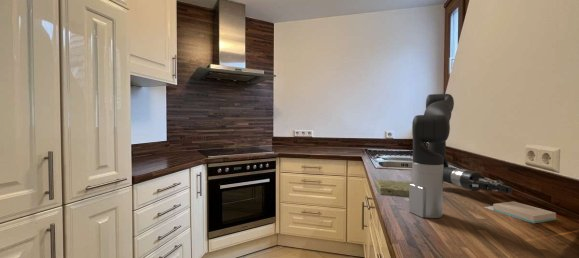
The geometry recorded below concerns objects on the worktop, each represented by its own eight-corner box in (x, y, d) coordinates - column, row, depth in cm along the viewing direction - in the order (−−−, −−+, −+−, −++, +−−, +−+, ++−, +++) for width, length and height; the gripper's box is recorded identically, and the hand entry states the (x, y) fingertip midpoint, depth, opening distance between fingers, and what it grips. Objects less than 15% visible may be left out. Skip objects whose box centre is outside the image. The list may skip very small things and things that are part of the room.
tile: (493, 210, 91) (533, 223, 80) (493, 203, 91) (534, 216, 80) (513, 207, 94) (555, 219, 83) (513, 201, 94) (555, 212, 83)
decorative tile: (374, 185, 128) (374, 178, 128) (418, 188, 124) (418, 180, 124) (379, 196, 110) (379, 188, 110) (431, 200, 106) (431, 191, 106)
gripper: (453, 170, 106) (495, 180, 89) (480, 169, 108) (526, 178, 91) (452, 189, 106) (494, 202, 89) (479, 187, 109) (525, 200, 92)
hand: (510, 190), depth 90 cm, fingers closed
